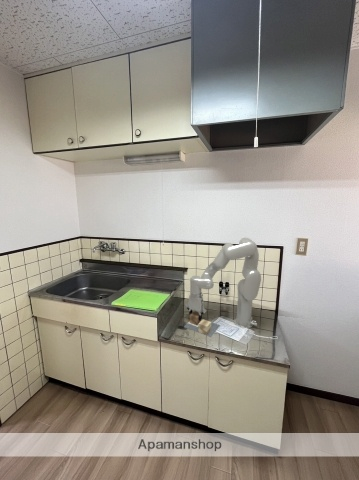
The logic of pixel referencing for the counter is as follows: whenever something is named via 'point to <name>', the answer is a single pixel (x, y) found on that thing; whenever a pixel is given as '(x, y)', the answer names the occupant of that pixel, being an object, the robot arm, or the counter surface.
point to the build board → (196, 328)
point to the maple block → (205, 327)
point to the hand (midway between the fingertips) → (195, 317)
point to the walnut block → (195, 318)
